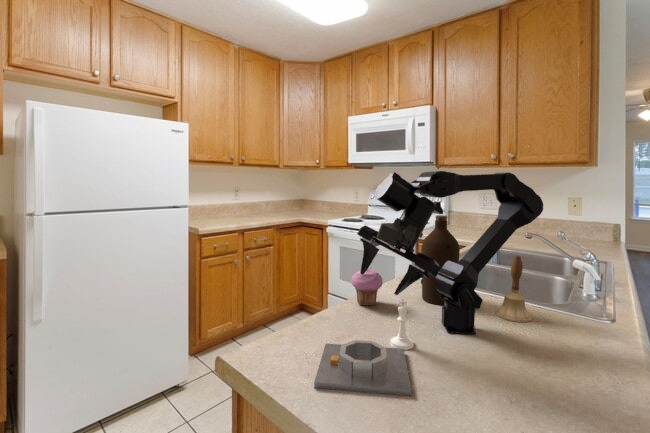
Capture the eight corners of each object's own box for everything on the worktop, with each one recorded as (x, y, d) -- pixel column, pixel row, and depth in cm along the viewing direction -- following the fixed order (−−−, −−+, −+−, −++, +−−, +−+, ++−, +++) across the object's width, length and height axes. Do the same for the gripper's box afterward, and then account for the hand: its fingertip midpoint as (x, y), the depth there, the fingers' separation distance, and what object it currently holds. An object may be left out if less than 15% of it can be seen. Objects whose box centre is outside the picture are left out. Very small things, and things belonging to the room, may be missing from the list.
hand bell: (534, 315, 89) (538, 255, 88) (528, 325, 83) (532, 261, 81) (499, 307, 94) (502, 251, 93) (491, 316, 88) (494, 256, 87)
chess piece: (414, 351, 70) (415, 304, 69) (390, 348, 71) (390, 302, 70) (413, 340, 75) (414, 296, 74) (390, 338, 76) (391, 294, 75)
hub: (403, 353, 69) (403, 336, 69) (410, 395, 55) (411, 375, 55) (325, 348, 72) (325, 332, 71) (314, 387, 58) (314, 368, 57)
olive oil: (465, 300, 100) (468, 216, 97) (443, 309, 93) (446, 218, 91) (433, 291, 108) (436, 213, 106) (412, 298, 102) (414, 215, 99)
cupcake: (351, 308, 94) (351, 273, 93) (350, 298, 102) (351, 265, 101) (384, 309, 93) (384, 273, 92) (380, 298, 102) (381, 265, 101)
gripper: (364, 193, 74) (329, 256, 73) (443, 227, 63) (402, 301, 62) (383, 211, 83) (351, 267, 82) (454, 243, 72) (419, 308, 71)
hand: (377, 283), depth 74 cm, fingers open, 9 cm apart
